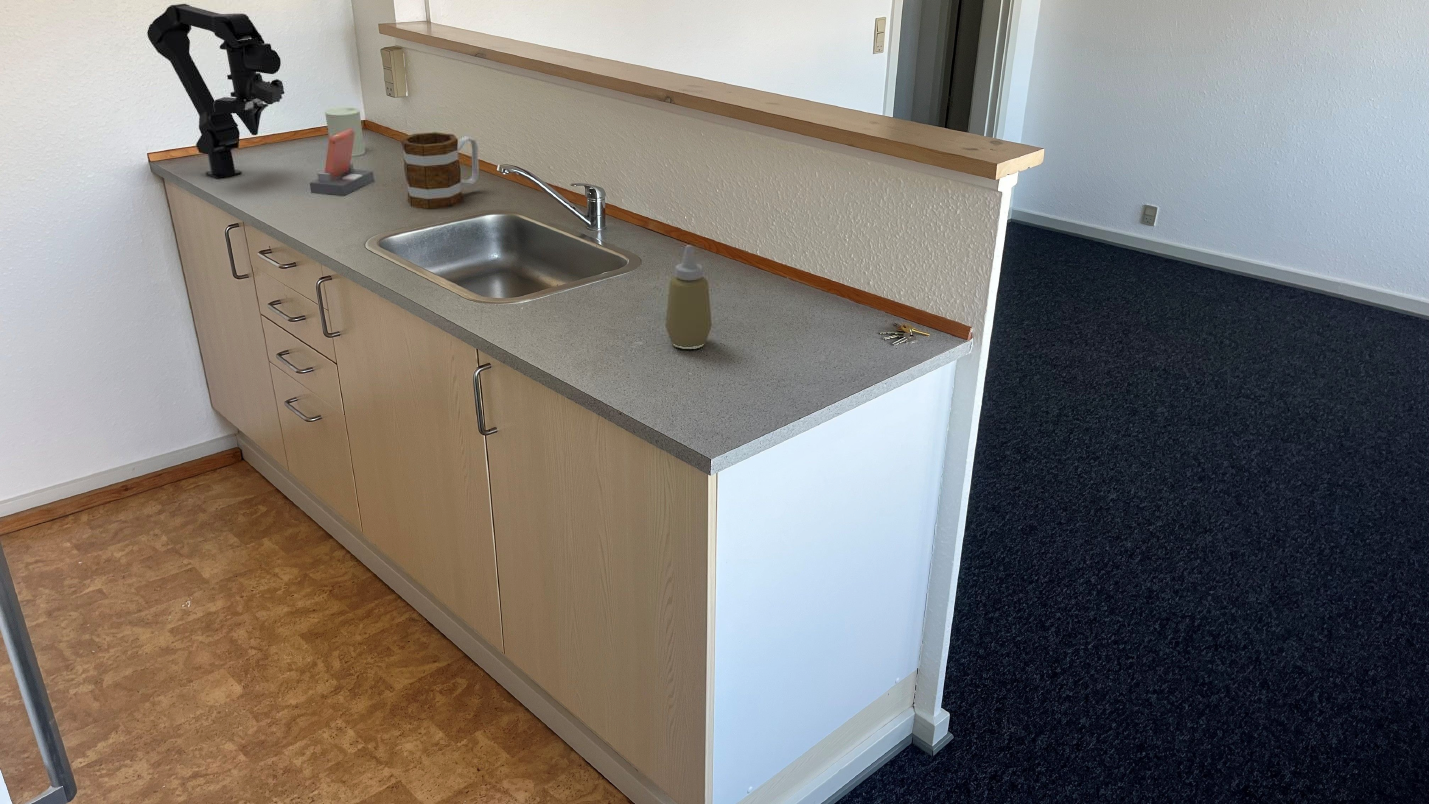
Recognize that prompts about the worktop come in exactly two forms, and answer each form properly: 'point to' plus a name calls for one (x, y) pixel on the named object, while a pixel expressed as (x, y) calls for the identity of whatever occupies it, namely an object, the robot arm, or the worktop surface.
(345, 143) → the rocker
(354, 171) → the grey holder stand
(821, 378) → the worktop surface
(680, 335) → the squeeze bottle
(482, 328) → the worktop surface
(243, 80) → the robot arm
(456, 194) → the mug
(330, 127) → the can
